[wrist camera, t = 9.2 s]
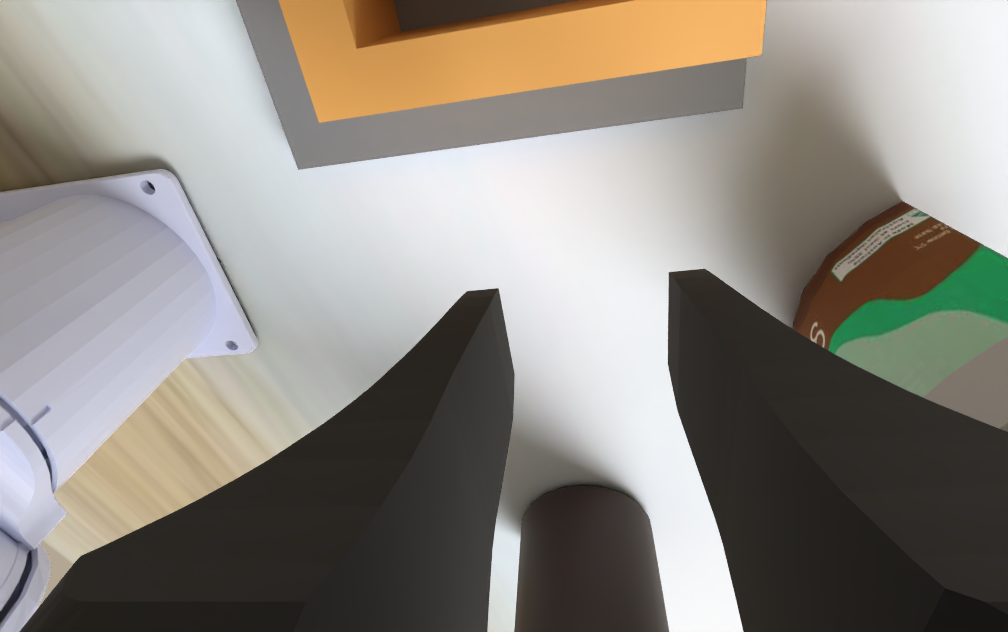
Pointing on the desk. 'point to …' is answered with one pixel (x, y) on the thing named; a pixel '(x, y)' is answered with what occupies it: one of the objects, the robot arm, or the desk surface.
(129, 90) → the desk surface
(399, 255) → the desk surface
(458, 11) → the plate
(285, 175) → the desk surface
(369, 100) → the link
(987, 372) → the food container
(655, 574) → the vinegar
